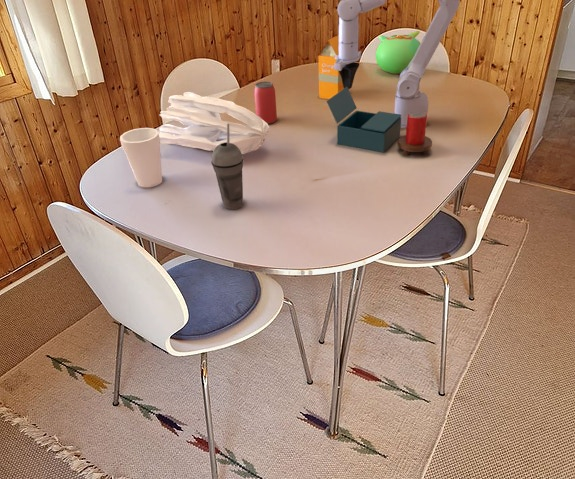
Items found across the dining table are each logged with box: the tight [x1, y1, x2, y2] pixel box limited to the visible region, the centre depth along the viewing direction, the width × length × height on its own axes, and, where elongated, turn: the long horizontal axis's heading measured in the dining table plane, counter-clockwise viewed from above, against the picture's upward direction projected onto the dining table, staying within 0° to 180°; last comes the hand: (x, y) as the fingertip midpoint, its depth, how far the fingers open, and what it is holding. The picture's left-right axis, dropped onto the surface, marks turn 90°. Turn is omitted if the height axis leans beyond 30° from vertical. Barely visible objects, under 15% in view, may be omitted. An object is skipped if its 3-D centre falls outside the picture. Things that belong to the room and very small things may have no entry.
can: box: [405, 111, 428, 145], centre depth 131 cm, size 5×5×8 cm
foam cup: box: [119, 127, 163, 189], centre depth 126 cm, size 10×9×13 cm
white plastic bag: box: [158, 91, 270, 155], centre depth 140 cm, size 17×18×35 cm
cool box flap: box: [326, 87, 358, 124], centre depth 142 cm, size 7×13×1 cm
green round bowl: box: [375, 30, 421, 75], centre depth 191 cm, size 18×17×15 cm
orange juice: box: [317, 34, 344, 100], centre depth 171 cm, size 8×9×20 cm
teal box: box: [336, 110, 402, 154], centre depth 141 cm, size 14×13×7 cm
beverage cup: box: [210, 124, 244, 211], centre depth 112 cm, size 7×7×20 cm
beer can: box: [253, 81, 278, 125], centre depth 157 cm, size 7×7×12 cm
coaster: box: [397, 134, 433, 156], centre depth 135 cm, size 9×9×4 cm
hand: (347, 88), depth 151 cm, fingers closed
